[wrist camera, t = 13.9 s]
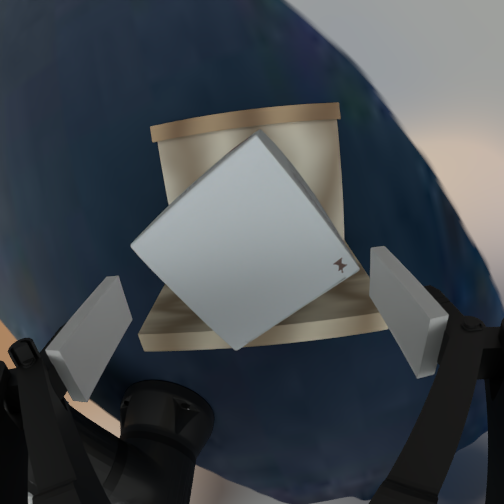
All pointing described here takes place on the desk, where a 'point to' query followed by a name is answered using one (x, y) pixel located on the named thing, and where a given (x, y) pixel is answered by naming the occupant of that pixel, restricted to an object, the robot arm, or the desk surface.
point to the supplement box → (246, 243)
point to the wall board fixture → (320, 182)
